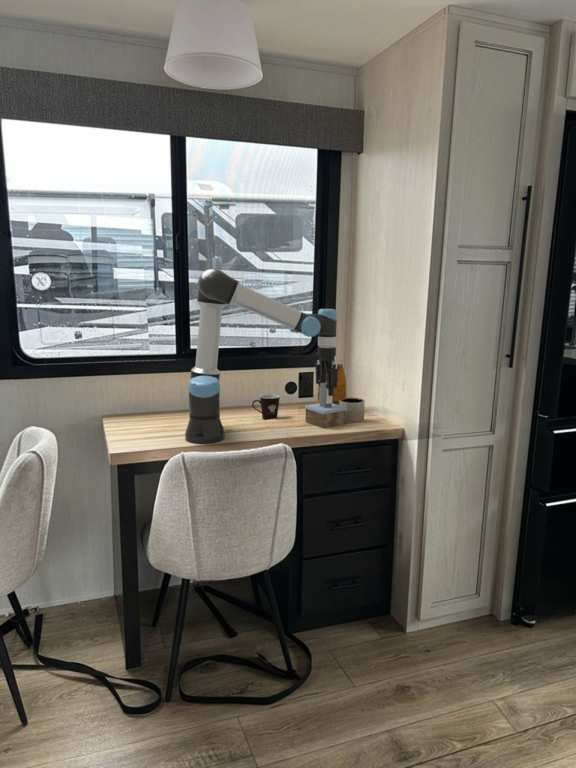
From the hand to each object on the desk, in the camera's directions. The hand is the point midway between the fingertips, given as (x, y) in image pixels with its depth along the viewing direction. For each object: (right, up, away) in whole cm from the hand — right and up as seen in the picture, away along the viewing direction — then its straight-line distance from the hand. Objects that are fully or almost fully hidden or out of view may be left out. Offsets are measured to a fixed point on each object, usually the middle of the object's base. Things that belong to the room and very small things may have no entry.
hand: (325, 402), depth 245 cm
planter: (+12, -9, +9) cm, 17 cm away
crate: (0, -10, +2) cm, 10 cm away
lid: (0, -4, +1) cm, 4 cm away
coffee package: (+4, -5, +28) cm, 29 cm away
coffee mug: (-25, -8, +13) cm, 30 cm away
